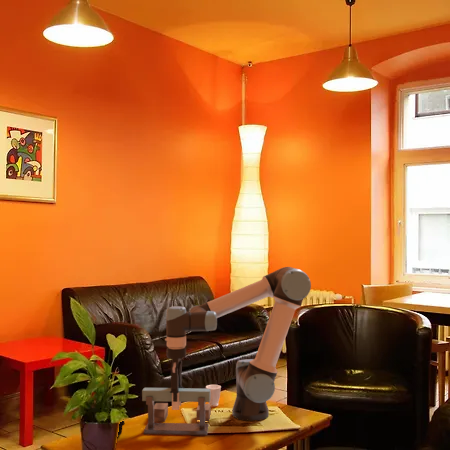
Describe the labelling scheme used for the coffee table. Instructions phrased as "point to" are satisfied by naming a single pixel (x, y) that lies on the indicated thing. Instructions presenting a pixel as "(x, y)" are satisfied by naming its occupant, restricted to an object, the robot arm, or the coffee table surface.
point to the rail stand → (176, 427)
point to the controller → (120, 428)
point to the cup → (214, 394)
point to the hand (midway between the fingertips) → (176, 407)
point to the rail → (184, 394)
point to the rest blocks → (162, 412)
